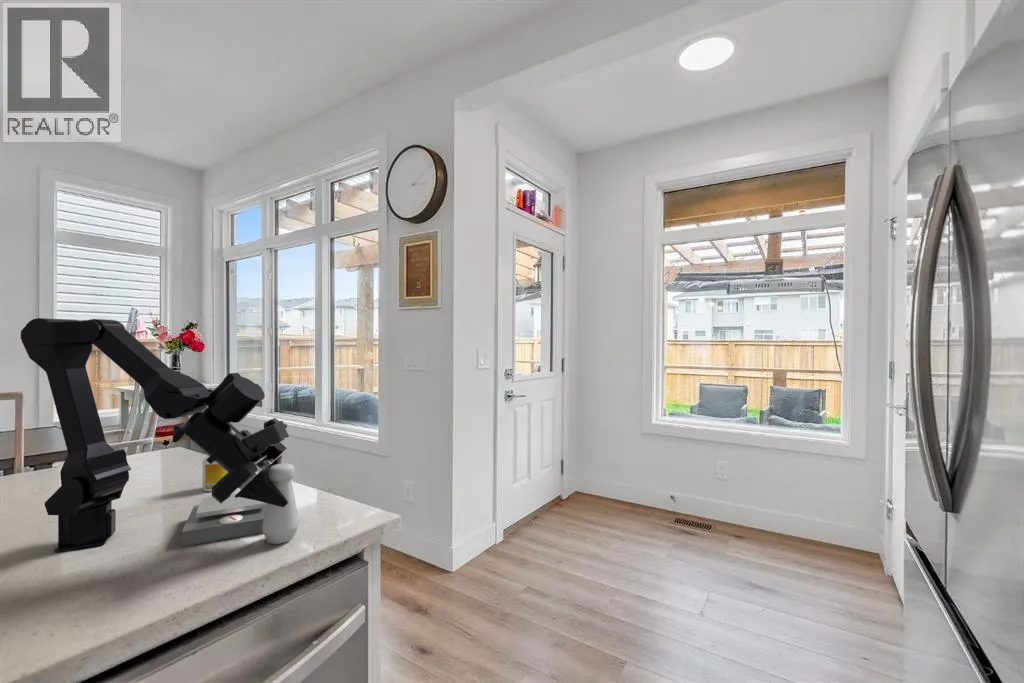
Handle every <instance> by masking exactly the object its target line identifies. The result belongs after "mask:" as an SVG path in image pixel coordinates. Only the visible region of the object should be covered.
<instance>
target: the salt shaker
mask: <svg viewBox="0 0 1024 683" xmlns="http://www.w3.org/2000/svg"><path fill="white" fill-rule="evenodd" d="M268 471H269V479H270V480H271V481H272V483H273V484H274V485H275V486H276V487H277V488H278V490H279V491H280V492H281V493H282V494H283V496H284V497H285V498H286V499H287V501H288V504H287V505H286V506H284V507H280V506H276V505H272V504H268V503H267V507H266V511H265V516H264V520H263V525H262V531H263V533H262V534H263V535H264V537H265V539H266V541H267V543H268V544H273V545H280V544H285V543H289V542H291V540H292V539H294V537H295V535H296V533H297V530H298V528H299V526H300V520H299V519H300V518H299V515H298V514H299V513H298V508H297V504H296V502H297V501H296V497H295V492H294V491H295V490H294V486H293V481H292V480H293V478H294V477H295V476H296V468H295V466H294V465H293V464H291V463H284V462H283V463H282V462H281V464H276V465H273V466H271V467H270V468H269V469H268Z"/></svg>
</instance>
